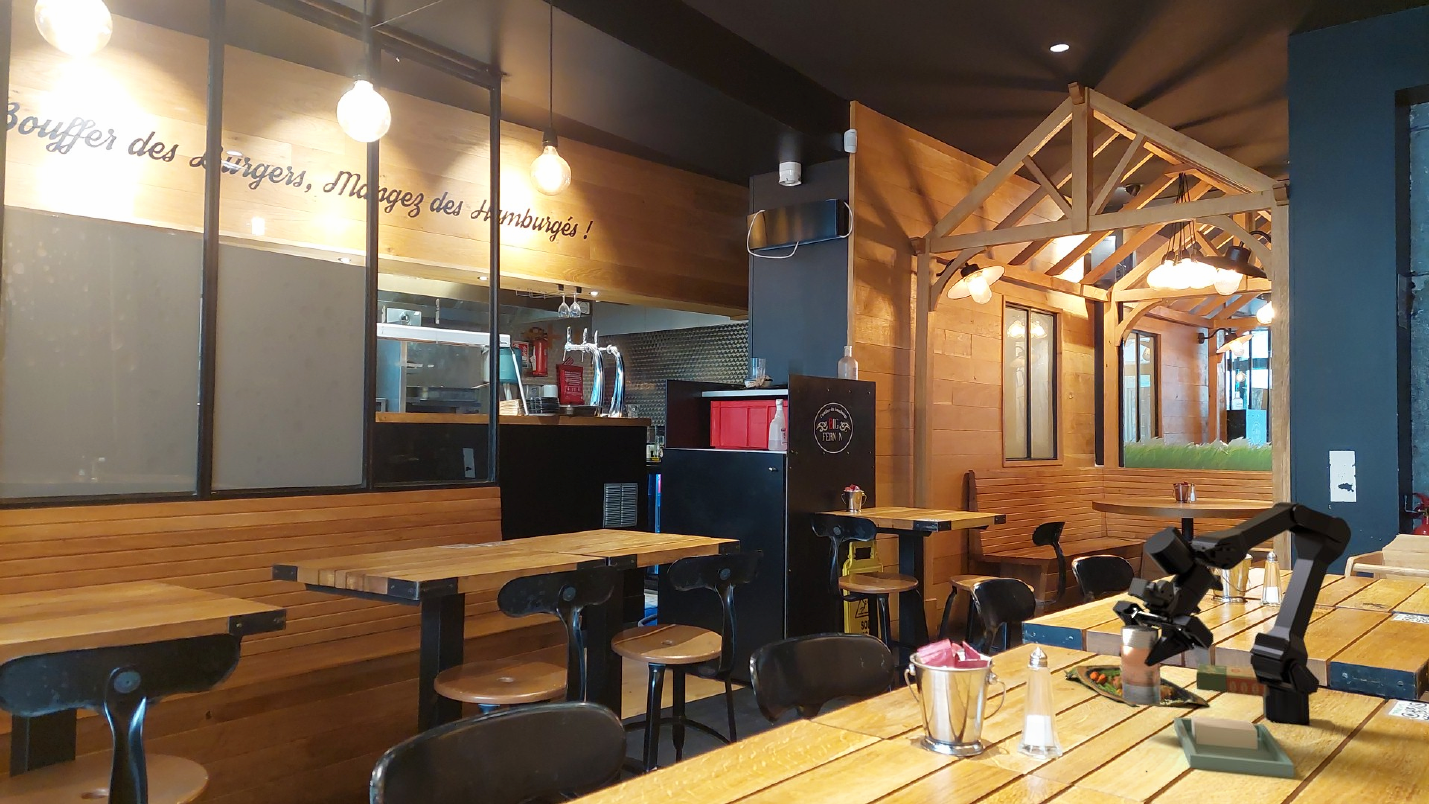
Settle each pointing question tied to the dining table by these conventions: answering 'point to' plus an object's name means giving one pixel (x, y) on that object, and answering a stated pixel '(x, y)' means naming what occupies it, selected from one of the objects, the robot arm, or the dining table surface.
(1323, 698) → the dining table surface
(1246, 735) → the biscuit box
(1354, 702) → the dining table surface
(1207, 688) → the carton
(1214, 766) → the tray
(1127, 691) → the tin can
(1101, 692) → the prepared meal
